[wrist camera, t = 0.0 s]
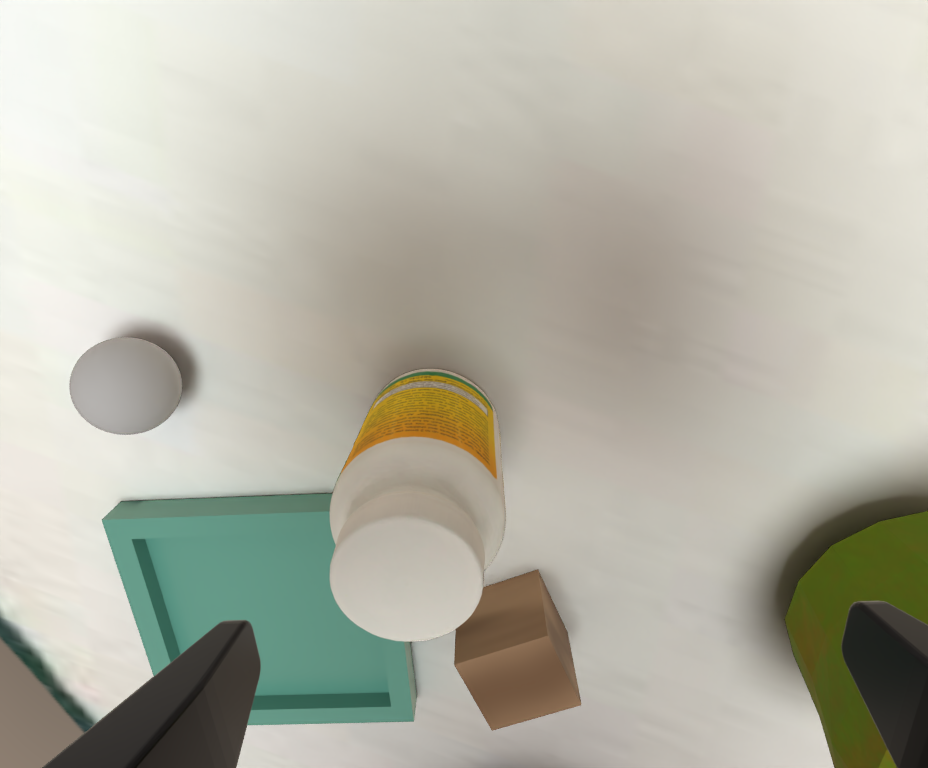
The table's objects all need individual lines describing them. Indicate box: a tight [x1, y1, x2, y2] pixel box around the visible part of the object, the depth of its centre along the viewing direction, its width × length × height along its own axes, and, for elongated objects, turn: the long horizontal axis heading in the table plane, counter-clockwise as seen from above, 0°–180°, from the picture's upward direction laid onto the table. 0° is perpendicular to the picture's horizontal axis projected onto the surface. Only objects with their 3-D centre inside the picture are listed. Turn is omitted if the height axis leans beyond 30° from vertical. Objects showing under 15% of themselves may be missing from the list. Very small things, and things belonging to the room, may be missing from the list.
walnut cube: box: [454, 570, 581, 731], centre depth 25 cm, size 4×4×4 cm
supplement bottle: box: [330, 369, 506, 642], centre depth 19 cm, size 5×5×10 cm
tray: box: [102, 493, 417, 725], centre depth 27 cm, size 12×12×1 cm
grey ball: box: [70, 337, 182, 435], centre depth 21 cm, size 4×4×4 cm
